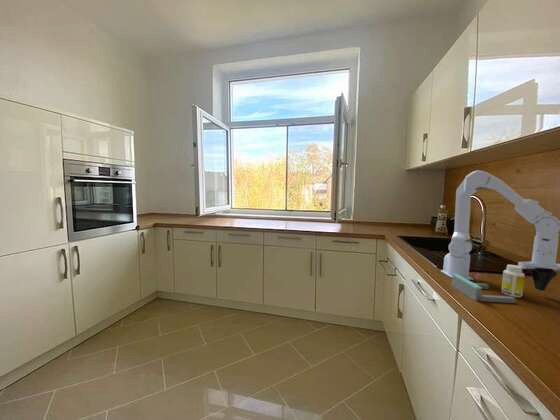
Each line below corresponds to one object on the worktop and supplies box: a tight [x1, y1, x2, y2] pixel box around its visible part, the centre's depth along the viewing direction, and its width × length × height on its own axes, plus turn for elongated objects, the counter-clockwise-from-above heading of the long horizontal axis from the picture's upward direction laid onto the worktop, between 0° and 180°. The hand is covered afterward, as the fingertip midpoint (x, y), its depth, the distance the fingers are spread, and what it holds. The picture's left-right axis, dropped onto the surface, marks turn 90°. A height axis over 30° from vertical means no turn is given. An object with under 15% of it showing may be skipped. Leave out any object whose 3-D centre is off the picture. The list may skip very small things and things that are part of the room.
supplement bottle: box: [500, 264, 525, 298], centre depth 89 cm, size 6×6×10 cm
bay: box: [451, 274, 516, 304], centre depth 89 cm, size 13×12×5 cm
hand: (539, 289), depth 89 cm, fingers closed
